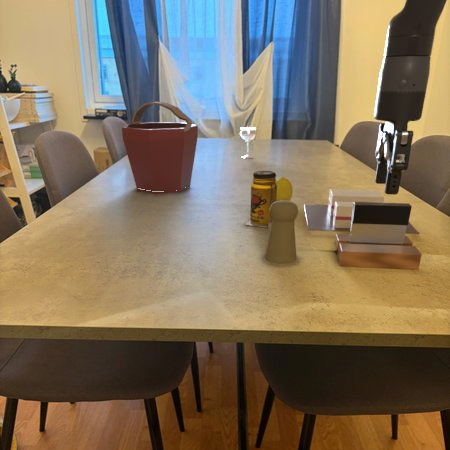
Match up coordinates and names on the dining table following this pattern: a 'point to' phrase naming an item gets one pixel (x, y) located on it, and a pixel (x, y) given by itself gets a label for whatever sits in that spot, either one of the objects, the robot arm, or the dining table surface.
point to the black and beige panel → (379, 223)
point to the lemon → (284, 189)
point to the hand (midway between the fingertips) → (385, 188)
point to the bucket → (161, 151)
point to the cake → (353, 197)
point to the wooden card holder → (377, 254)
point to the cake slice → (342, 214)
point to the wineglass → (248, 137)
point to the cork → (282, 232)
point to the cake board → (331, 220)
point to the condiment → (262, 198)
